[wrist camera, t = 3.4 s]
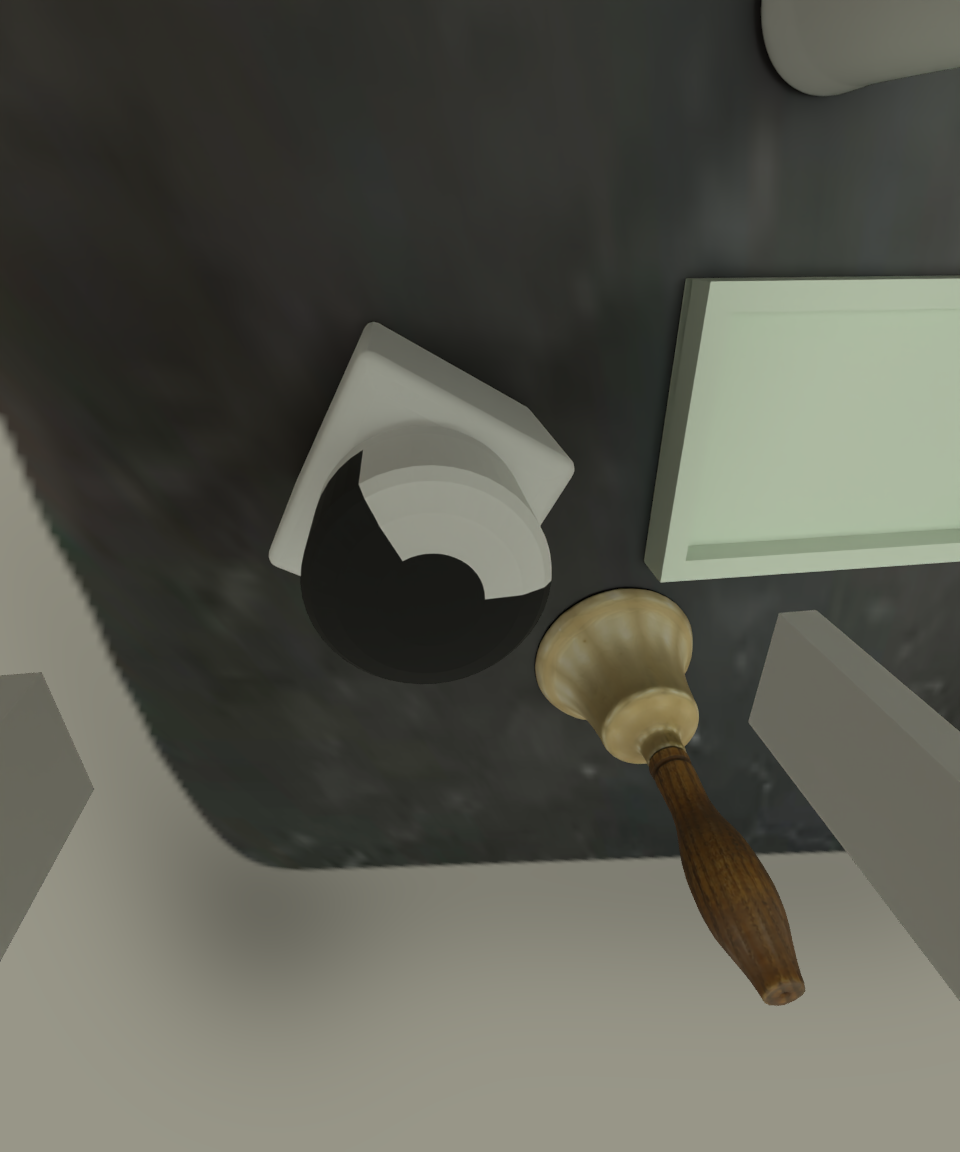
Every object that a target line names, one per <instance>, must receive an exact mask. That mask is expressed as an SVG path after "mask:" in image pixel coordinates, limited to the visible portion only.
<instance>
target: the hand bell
mask: <svg viewBox="0 0 960 1152" xmlns="http://www.w3.org/2000/svg"><path fill="white" fill-rule="evenodd" d="M692 645H693V639H692V630H691V626H690V623H689V621H688V619H687V617H686V615H685V614H684V612H683V611H682V610H681V609H680V608H679V607H678V605H677V604H676V603H674V602H673V601H671V600H670V599H669V598H667V597H665V596H663V595H661V594H659V593H656V592H653V591H650V590H643V589H615V590H611V591H606V592H603V593H599V594H596V595H594V596H591V597H589V598H586V599H585V600H583V601H581V602H579V603H577V604H576V605H574V606H573V607H571V608H570V609H568V610H567V611H566V612H564V613H563V614H562V615H561V616H560V617H559V618H558V619H557V620H556V621H555V622H554V623H553V624H552V625H551V627H550V628H549V629H548V631H547V632H546V634H545V636H544V637H543V639H542V641H541V643H540V646H539V649H538V652H537V656H536V663H535V672H536V679H537V682H538V685H539V687H540V689H541V691H542V693H543V694H544V696H545V697H546V698H547V699H548V700H549V701H550V702H551V703H552V704H553V705H554V706H555V707H557V708H558V709H560V710H561V711H563V712H565V713H566V714H569V715H571V716H573V717H576V718H579V719H583V720H587V721H588V722H589V723H590V724H591V726H592V727H593V728H594V730H595V731H596V733H597V734H598V736H599V737H600V739H601V741H602V742H603V744H604V746H605V748H606V749H607V750H608V751H609V752H610V753H611V754H612V755H613V756H614V757H616V758H618V759H620V760H622V761H625V762H629V763H635V764H645V763H647V764H648V766H649V770H650V774H651V775H652V777H653V779H654V780H655V781H656V784H657V786H658V788H659V790H660V792H661V794H662V796H663V798H664V800H665V802H666V804H667V805H668V807H669V809H670V811H671V813H672V816H673V819H674V822H675V825H676V829H677V834H678V843H679V850H680V856H681V861H682V865H683V869H684V872H685V876H686V879H687V882H688V885H689V888H690V890H691V893H692V895H693V897H694V900H695V902H696V904H697V907H698V909H699V911H700V913H701V915H702V917H703V919H704V921H705V923H706V924H707V926H708V928H709V930H710V931H711V933H712V934H713V936H714V937H715V939H716V940H717V941H718V943H719V944H720V945H721V946H722V948H723V949H724V950H725V951H726V953H727V954H728V955H729V956H730V957H731V958H732V960H733V961H734V962H735V963H736V964H737V965H738V967H739V968H740V969H741V970H742V971H743V973H744V974H745V975H746V976H747V978H748V979H749V980H750V981H751V983H752V984H753V986H754V987H755V989H756V990H757V991H758V993H759V994H760V996H761V998H762V999H763V1001H764V1002H765V1003H766V1004H768V1005H777V1006H779V1005H785V1004H787V1003H790V1002H792V1001H794V1000H796V999H797V998H799V997H800V996H802V995H803V993H804V992H805V986H804V981H803V978H802V976H801V973H800V969H799V966H798V963H797V959H796V954H795V950H794V946H793V942H792V936H791V932H790V927H789V923H788V919H787V916H786V912H785V909H784V907H783V904H782V902H781V899H780V897H779V894H778V892H777V890H776V888H775V886H774V884H773V882H772V880H771V878H770V876H769V875H768V873H767V872H766V870H765V868H764V866H763V865H762V863H761V862H760V860H759V859H758V857H757V856H756V854H755V853H754V851H753V850H752V848H751V847H750V846H749V844H748V843H747V842H746V840H745V839H744V838H743V837H742V836H741V834H740V833H739V832H738V831H737V830H736V829H735V828H734V827H733V826H732V825H731V824H730V823H729V822H728V821H727V820H725V819H724V818H723V817H722V816H721V814H720V813H719V812H718V811H717V810H716V808H715V807H714V806H713V804H712V803H711V801H710V800H709V798H708V796H707V794H706V792H705V790H704V788H703V786H702V784H701V782H700V780H699V778H698V776H697V774H696V772H695V769H694V768H693V766H692V765H691V761H690V758H689V756H688V755H687V753H686V750H685V747H684V746H685V745H686V744H687V743H688V742H689V741H690V739H691V738H692V737H693V735H694V733H695V731H696V729H697V726H698V721H699V713H698V708H697V705H696V702H695V700H694V698H693V696H692V694H691V691H690V689H689V687H688V684H687V681H686V678H685V673H686V671H687V668H688V666H689V663H690V660H691V656H692Z"/></svg>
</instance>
